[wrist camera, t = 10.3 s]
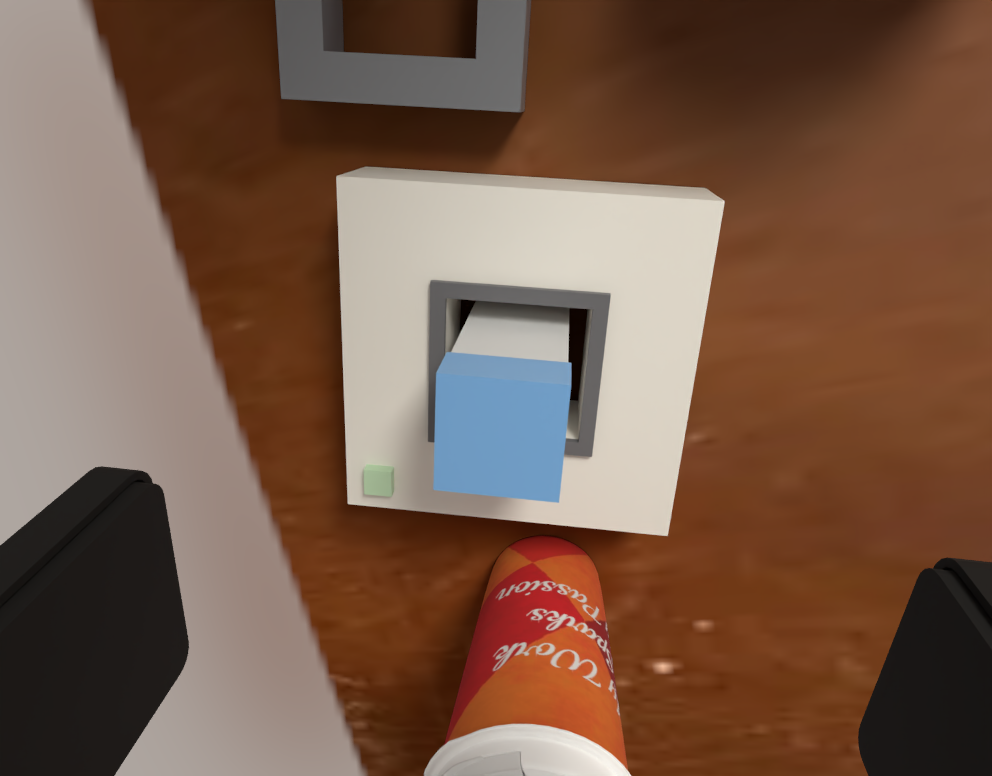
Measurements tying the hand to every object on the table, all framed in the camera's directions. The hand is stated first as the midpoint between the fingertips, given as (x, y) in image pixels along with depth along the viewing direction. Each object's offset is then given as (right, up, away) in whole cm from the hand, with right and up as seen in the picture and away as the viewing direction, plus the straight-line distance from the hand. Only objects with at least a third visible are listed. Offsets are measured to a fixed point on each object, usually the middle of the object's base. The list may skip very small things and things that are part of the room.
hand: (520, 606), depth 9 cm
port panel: (+1, +5, +23) cm, 23 cm away
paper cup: (+2, -7, +28) cm, 29 cm away
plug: (+1, +5, +23) cm, 23 cm away
